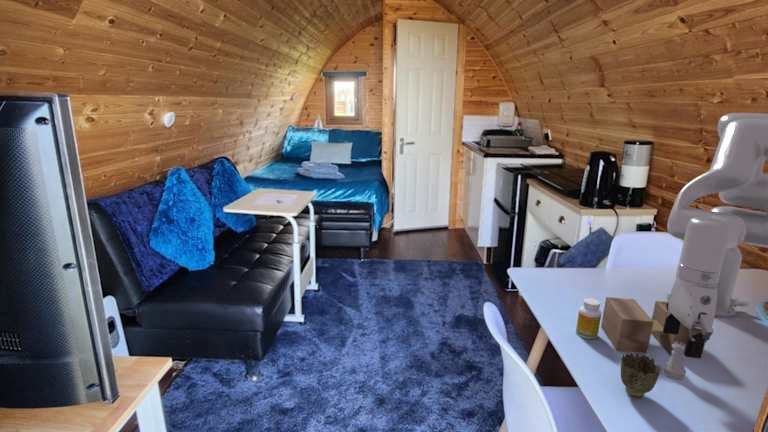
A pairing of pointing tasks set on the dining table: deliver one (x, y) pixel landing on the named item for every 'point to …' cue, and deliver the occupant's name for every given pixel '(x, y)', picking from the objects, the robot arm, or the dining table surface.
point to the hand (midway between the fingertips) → (680, 344)
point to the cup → (639, 374)
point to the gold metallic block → (657, 328)
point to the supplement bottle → (589, 319)
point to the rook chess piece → (676, 362)
